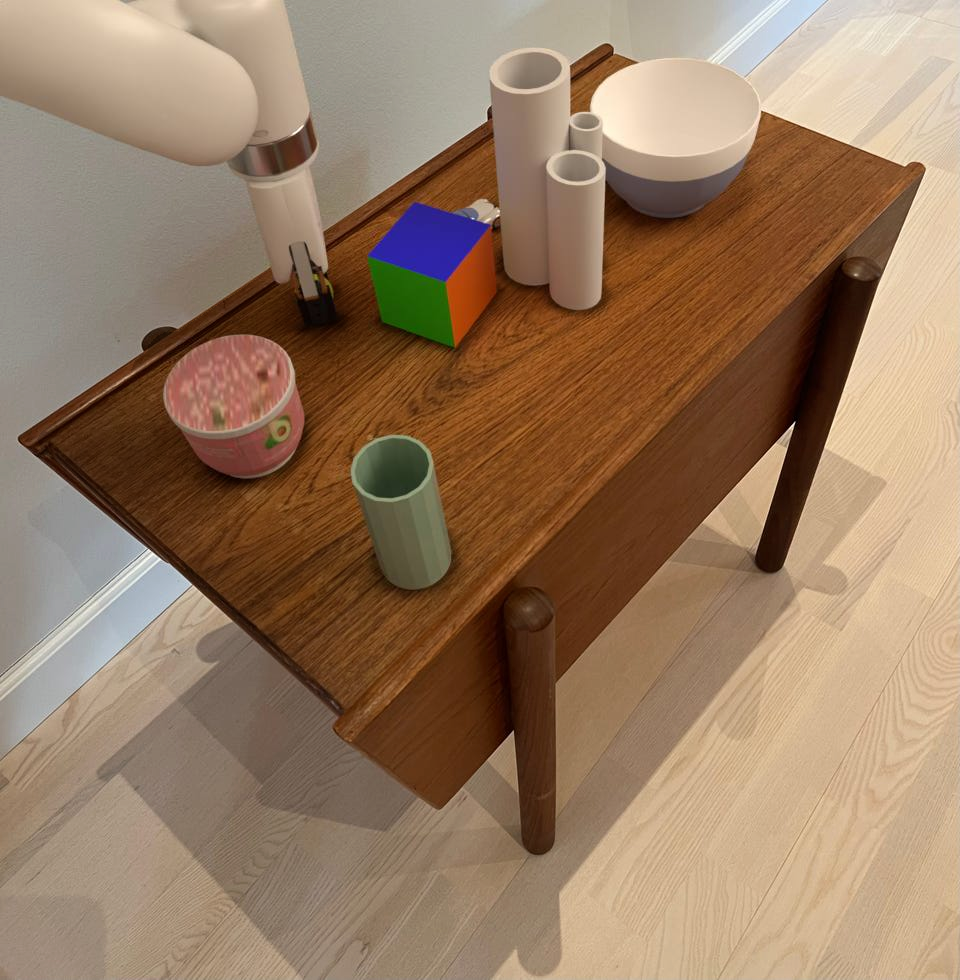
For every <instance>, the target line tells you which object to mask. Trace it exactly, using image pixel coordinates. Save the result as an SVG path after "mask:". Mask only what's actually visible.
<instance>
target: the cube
mask: <svg viewBox="0 0 960 980" xmlns="http://www.w3.org/2000/svg"><path fill="white" fill-rule="evenodd" d="M492 230H493V228H492V229H491V225H490V224H487V223H483V222H480V221H477V220H473V219H470V218H467V217H463V216H460V215H457V214H454V213H452V212H450V211H447V210H443V209H440V208H437V207H434V206H430V205H427V204H425V203H421V202H417V201H413V203H411V205H410V206H409V207H408V208H407V209H406V210H405V212H404V213H403V214H402V215H401V216H400V218H399V219H398V220H396V222H395V223H394V224H393V225H392V227H391V228H390V229H389V230H388V231H387V232H386V234H384V236H383V237H382V238H381V240H380V241H379V242H378V243H376V245H375V246H374V248H373V249H372V250H371V251H370V252H369V253H368V254H367V255H366V258H367V262H368V266H369V271H370V275H371V279H372V285H373V289H374V292H375V297H376V301H377V305H378V309H379V314H380V319H381V322H382V323H385V324H387V325H389V326H393V327H394V328H395V327H396V328H398V329H401V330H404V331H407V332H409V333H411V334H415V335H417V336H420V337H423V338H426V339H429V340H431V341H435V342H437V343H440V344H443V345H446V346H449V347H452V348H454V349H456V348H457V347H458V345H459V344H460V343H461V341H462V340H463V338H464V337H465V336H466V334H468V332H469V330H470V329H471V328H472V326H473V325H474V324H475V322H476V321H477V319H478V318H479V317H480V316H481V314H482V313H483V312H484V310H485V309H486V308H487V306H488V305H489V304H490V302H491V301H492V300H493V298H494V297H495V296H496V295H497V293H498V289H497V288H498V286H497V276H496V266H495V254H494V242H493V231H492Z"/></svg>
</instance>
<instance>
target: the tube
mask: <svg viewBox="0 0 960 980" xmlns="http://www.w3.org/2000/svg"><path fill="white" fill-rule="evenodd" d="M349 472H350V473H349V474H350V477H351V482H352V486H353V489H354V491H355V496H356V498H357V501H358V504H359V507H360V510H361V513H362V517H363V519H364V522H365V525H366V528H367V531H368V534H369V538H370V541H371V544H372V546H373V549H374V553H375V556H376V559H377V562H378V564H379V568H380V570H381V572H382V574H383V576H384V577H385V579H386V580H387V581H388V582H389V583H391V584H392V585H394V586H396V587H398V588H401V589H404V590H413V591H415V590H421V589H425V588H428V587H430V586H433V585H435V584H437V582H439V581H441V580H442V578H443V577H444V576H445V575H446V573H447V572H448V570H449V568H450V566H451V562H452V546H451V541H450V538H449V533H448V528H447V523H446V518H445V514H444V513H445V512H444V507H443V502H442V498H441V493H440V488H439V483H438V478H437V473H436V468H435V462H434V459H433V456H432V452H431V450H430V449H429V448H428V447H427V446H426V445H425V444H424V443H423V442H422V441H421V440H419V439H416V438H414V437H412V436H410V435H404V434H403V435H402V434H388V435H384V436H380V437H376V438H375V439H373V440H371V441H370V442H368V443H366V444H364V445H363V446H362V447H361V448H360V450H359V451H358V452H357V453H356V455H355V456H354V457H353V459H352V462H351V467H350V471H349Z"/></svg>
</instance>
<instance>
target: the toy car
mask: <svg viewBox="0 0 960 980" xmlns="http://www.w3.org/2000/svg"><path fill="white" fill-rule="evenodd" d="M451 213H454V214H457V215H460V216H463V217H467V218H470V219H473V220H477V221H480V222H483V223H487V224H490V225H491V229H492V230H493V229H499V228H501V221H500V208H499V206H497V205H496V204H495V203H494V202H491V201H489V200H488V199H487V198H479V199H477V200H475V201H474V202H472V203H471V204H470V205H467V206H466V207H461V208H458V207H456V210H454V211H453V212H451Z"/></svg>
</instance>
